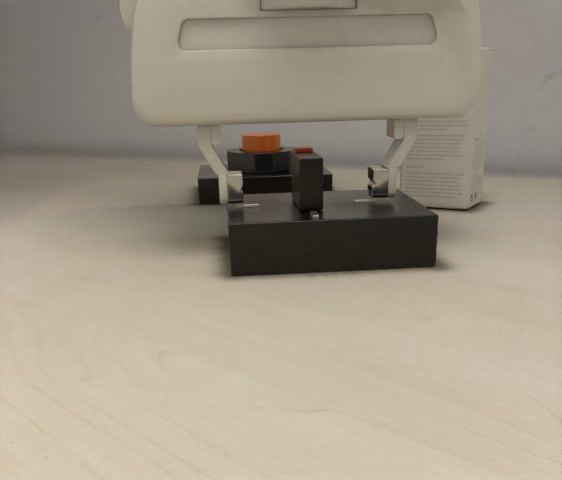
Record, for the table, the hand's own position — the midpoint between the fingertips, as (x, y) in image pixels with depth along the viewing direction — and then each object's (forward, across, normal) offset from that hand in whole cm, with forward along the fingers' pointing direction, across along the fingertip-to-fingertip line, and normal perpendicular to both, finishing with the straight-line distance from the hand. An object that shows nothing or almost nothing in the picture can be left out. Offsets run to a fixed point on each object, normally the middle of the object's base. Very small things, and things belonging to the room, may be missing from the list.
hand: (307, 199), depth 44 cm
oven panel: (+3, +1, 0) cm, 3 cm away
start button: (0, -1, +24) cm, 25 cm away
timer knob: (0, 0, 0) cm, 0 cm away
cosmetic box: (+4, +13, +15) cm, 20 cm away
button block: (+3, -1, +24) cm, 25 cm away
